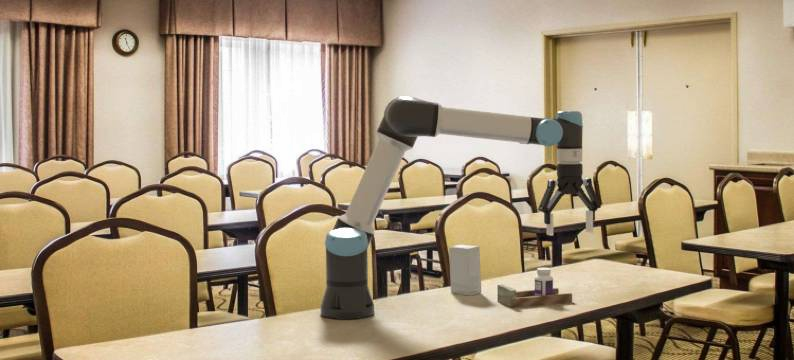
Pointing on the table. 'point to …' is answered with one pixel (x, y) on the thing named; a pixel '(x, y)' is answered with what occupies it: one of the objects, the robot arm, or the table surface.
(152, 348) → the table surface
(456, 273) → the skincare box
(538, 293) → the pill bottle
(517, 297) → the rail
